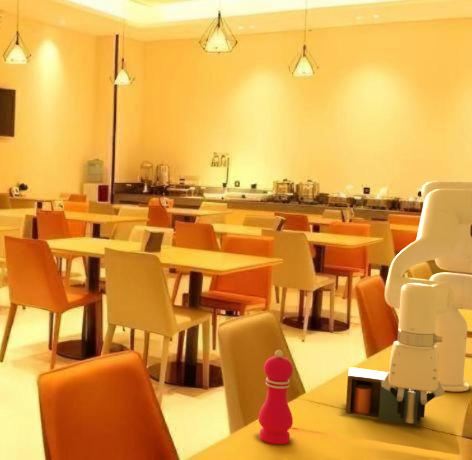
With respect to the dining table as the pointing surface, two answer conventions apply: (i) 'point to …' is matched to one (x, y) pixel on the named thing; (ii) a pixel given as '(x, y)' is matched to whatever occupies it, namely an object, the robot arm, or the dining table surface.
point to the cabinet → (369, 379)
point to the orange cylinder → (362, 399)
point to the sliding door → (391, 403)
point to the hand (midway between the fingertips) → (410, 417)
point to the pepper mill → (276, 401)
